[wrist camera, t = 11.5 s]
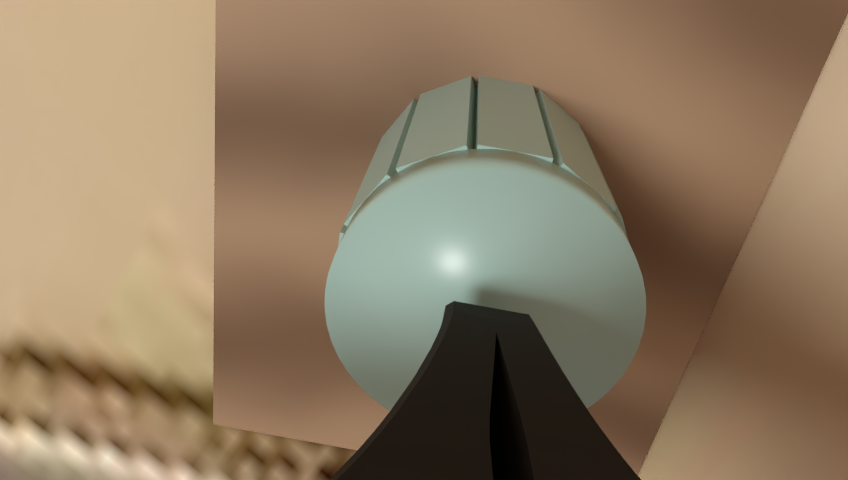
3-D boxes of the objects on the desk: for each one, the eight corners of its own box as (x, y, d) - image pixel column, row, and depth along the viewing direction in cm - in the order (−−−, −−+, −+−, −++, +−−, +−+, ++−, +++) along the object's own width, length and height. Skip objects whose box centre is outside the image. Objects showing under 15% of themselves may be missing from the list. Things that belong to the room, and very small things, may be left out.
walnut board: (620, 475, 22) (626, 498, 21) (223, 403, 22) (213, 424, 21) (924, -219, 13) (957, -229, 12) (236, -346, 13) (217, -366, 12)
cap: (559, 295, 18) (592, 460, 13) (362, 259, 18) (312, 409, 12) (621, 101, 15) (696, 205, 10) (390, 59, 15) (340, 140, 10)
